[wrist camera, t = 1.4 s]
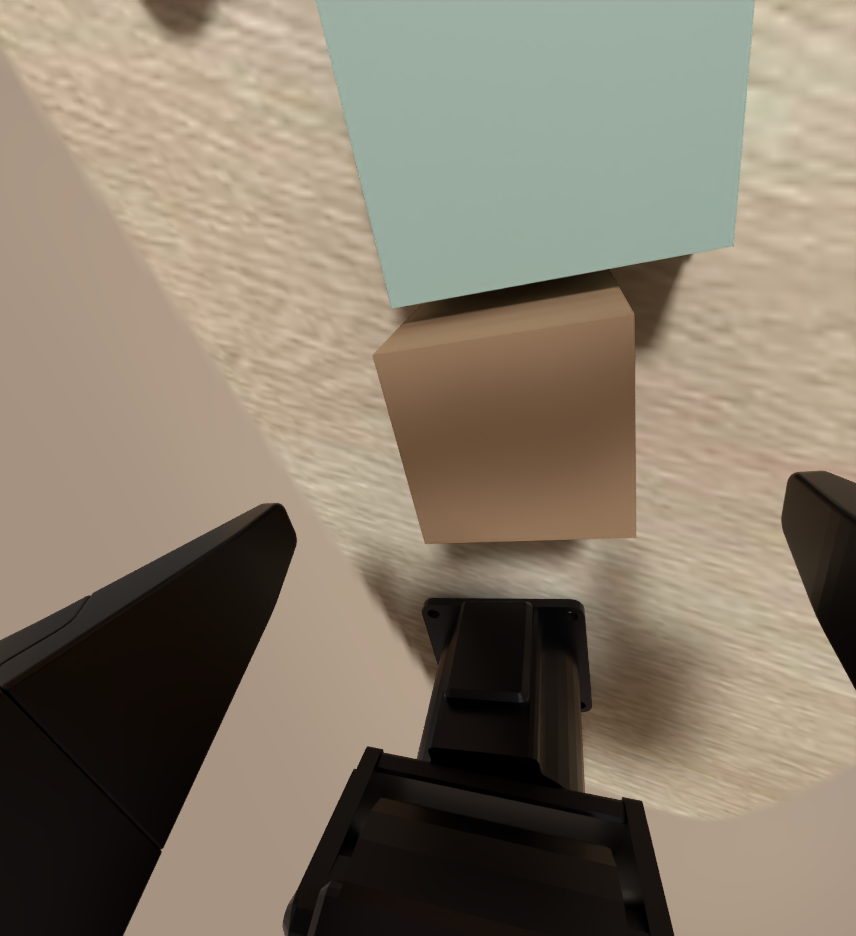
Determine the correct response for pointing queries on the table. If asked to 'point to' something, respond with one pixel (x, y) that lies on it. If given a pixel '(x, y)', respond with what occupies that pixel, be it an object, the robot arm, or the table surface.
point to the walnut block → (518, 412)
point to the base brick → (540, 134)
